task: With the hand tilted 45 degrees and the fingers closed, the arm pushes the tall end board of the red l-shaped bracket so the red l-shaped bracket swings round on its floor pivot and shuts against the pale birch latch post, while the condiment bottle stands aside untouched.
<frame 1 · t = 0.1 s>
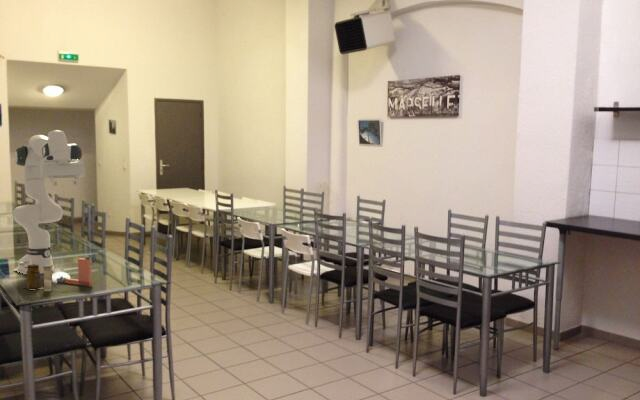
hand: (65, 185, 281), 54 cm above the table, tool tilted 30°, fingers open, 8 cm apart
condiment: (34, 288, 295), on the table
red l-shaped bracket: (77, 269, 303), point 8 cm above the table, hinge at 60.0°
pivot base: (61, 282, 307), on the table
latch post: (48, 290, 292), on the table
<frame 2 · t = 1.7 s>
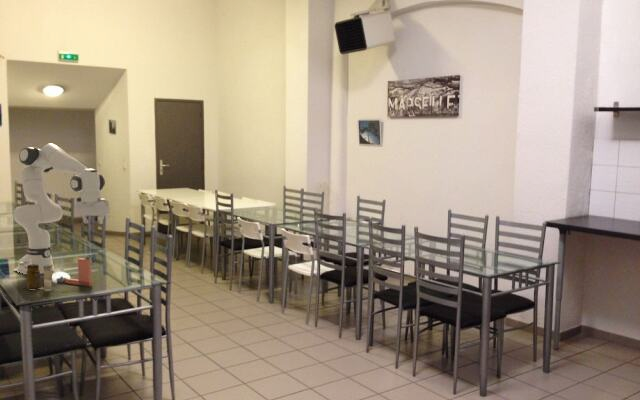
hand: (93, 223, 313), 31 cm above the table, tool pointing down, fingers open, 8 cm apart
nothing on the table moved.
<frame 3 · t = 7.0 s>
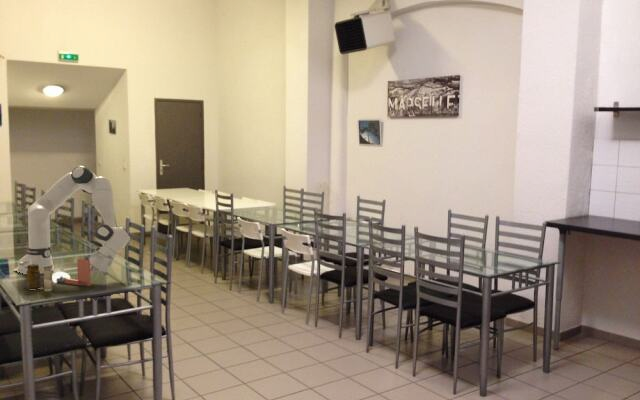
hand: (89, 274, 302), 6 cm above the table, tool tilted 45°, fingers closed
red l-shaped bracket: (77, 269, 302), point 8 cm above the table, hinge at 57.8°, touching gripper
everything else where it was.
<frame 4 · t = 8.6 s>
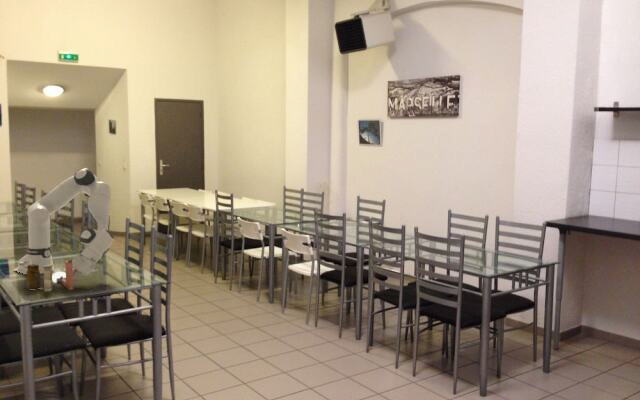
hand: (71, 278, 296), 5 cm above the table, tool tilted 45°, fingers closed
red l-shaped bracket: (66, 271, 298), point 8 cm above the table, hinge at 27.5°, touching gripper
everything else where it was.
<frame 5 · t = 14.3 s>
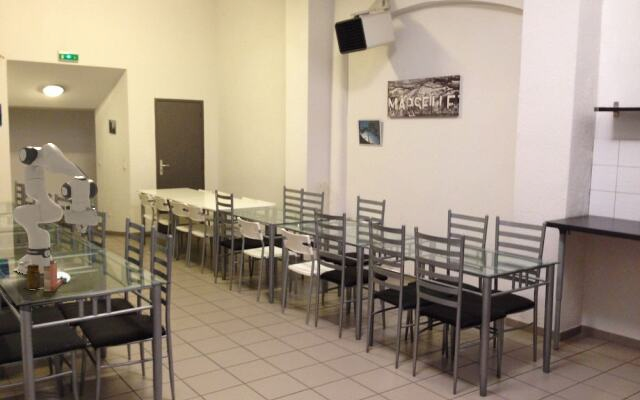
hand: (81, 232, 305), 27 cm above the table, tool pointing down, fingers closed
red l-shaped bracket: (55, 272, 296), point 8 cm above the table, hinge at 0.2°, touching latch post
everything else where it was.
at the end: red l-shaped bracket at +0° (first picture: +60°); the gripper is holding nothing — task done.
